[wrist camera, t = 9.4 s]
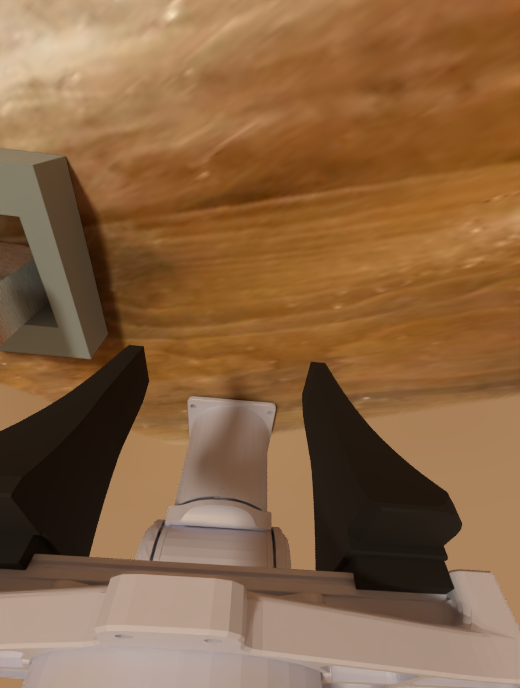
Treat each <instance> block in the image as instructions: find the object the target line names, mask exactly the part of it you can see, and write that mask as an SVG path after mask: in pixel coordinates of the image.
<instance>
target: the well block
mask: <svg viewBox="0 0 520 688" xmlns="http://www.w3.org/2000/svg"><path fill="white" fill-rule="evenodd" d="M0 215H9V216H18V217H19V218H20V220H21V223H22V226H23V229H24V232H25V235H26V237H27V240H28V243H29V246H30V249H31V251H32V254H33V257H34V260H35V263H36V266H37V268H38V271H39V274H40V277H41V280H42V282H43V285H44V288H45V291H46V294H47V297H48V299H49V302H47V303H46V304H45V305H44V306H43V307H42V308H41V309H40V310H39V311H38V312H37V313H35V314H34V315H33V316H32V317H31V318H30V319H29V320H28V321H27V322H26V323H25V324H23V325H22V326H21V327H20V328H19V329H18V330H17V331H16V332H15V333H14V334H13V335H11V336H10V337H9V338H8V339H7V340H6V341H5V342H4V343H3V344H2V345H1V346H0V351H6V352H18V353H29V354H40V355H51V356H62V357H73V358H85V359H91V358H92V357H93V355H94V354H95V352H96V351H97V349H98V348H99V347H100V345H101V344H102V342H103V341H104V339H105V338H106V336H107V335H108V331H107V327H106V323H105V319H104V315H103V310H102V306H101V302H100V298H99V294H98V290H97V286H96V281H95V277H94V273H93V269H92V265H91V261H90V256H89V252H88V248H87V244H86V240H85V236H84V231H83V227H82V223H81V219H80V215H79V211H78V206H77V202H76V198H75V194H74V190H73V186H72V181H71V177H70V173H69V169H68V165H67V161H66V156H61V155H52V154H44V153H35V152H27V151H19V150H10V149H2V148H0Z"/></svg>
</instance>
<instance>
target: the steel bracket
mask: <svg viewBox="0 0 520 688" xmlns="http://www.w3.org/2000/svg"><path fill="white" fill-rule="evenodd" d="M47 302H49V299H48V297H47V294H46V291H45V288H44V285H43V282H42V280H41V277H40V274H39V271H38V268H37V266H36V263H35V260H34V257H33V254H32V251H31V249H30V246H29V245H22V244H14V243H6V242H0V346H1V345H2V344H3V343H4V342H5V341H6V340H7V339H8V338H9V337H10V336H11V335H13V334H14V333H15V332H16V331H17V330H18V329H19V328H20V327H21V326H22V325H23V324H25V323H26V322H27V321H28V320H29V319H30V318H31V317H32V316H33V315H34V314H35V313H37V312H38V311H39V310H40V309H41V308H42V307H43V306H44V305H45V304H46V303H47Z"/></svg>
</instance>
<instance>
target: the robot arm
mask: <svg viewBox="0 0 520 688" xmlns="http://www.w3.org/2000/svg"><path fill="white" fill-rule="evenodd" d="M148 383H149V377H148V371H147V365H146V359H145V352H144V346H134V345H129V346H127V347H126V348H125V349H124V350H122V351H121V352H120V353H119V354H118V355H117V356H115V357H114V358H113V359H112V360H111V361H109V362H108V363H107V364H106V365H105V366H103V367H102V368H101V369H100V370H99V371H97V372H96V373H95V374H94V375H92V376H91V377H90V378H89V379H87V380H86V381H85V382H83V383H82V384H80V385H79V386H78V387H76V388H75V389H74V390H72V391H71V392H69V393H68V394H66V395H65V396H63V397H62V398H60V399H59V400H57V401H56V402H54V403H52V404H51V405H49V406H47V407H46V408H44V409H42V410H41V411H39V412H37V413H35V414H33V415H31V416H30V417H28V418H26V419H24V420H22V421H20V422H19V423H16V424H15V425H12V426H10V427H8V428H6V429H4V430H2V431H0V677H2V678H14V679H25V680H24V682H23V685H22V687H21V688H520V629H519V627H518V625H517V622H516V620H515V618H514V616H513V614H512V612H511V610H510V608H509V605H508V603H507V601H506V599H505V597H504V595H503V593H502V591H501V589H500V587H499V584H498V582H497V580H496V578H495V576H494V574H493V573H491V572H490V571H478V570H452V571H449V572H448V570H447V567H446V564H445V562H444V561H446V560H447V559H448V557H447V554H446V551H445V548H444V545H445V544H446V543H447V542H449V541H450V540H451V539H452V538H453V537H455V536H456V535H457V533H458V532H459V531H460V530H461V527H462V522H461V520H460V518H459V515H458V513H457V511H456V509H455V506H454V504H453V502H452V500H451V499H450V497H449V495H448V493H447V492H446V491H445V490H443V489H442V488H440V487H439V486H438V485H436V484H435V483H434V482H432V481H431V480H429V479H428V478H427V477H425V476H424V475H422V474H421V473H420V472H419V471H418V470H416V469H415V468H414V467H412V466H411V465H410V464H409V463H408V462H406V461H405V460H404V459H403V458H402V457H401V456H400V455H398V454H397V453H396V452H395V451H394V450H393V449H392V448H391V447H390V446H389V445H388V444H387V443H385V442H384V441H383V440H382V439H381V438H380V437H379V436H378V434H377V433H376V432H375V431H373V429H372V428H371V427H370V426H369V425H368V424H367V422H366V421H365V420H364V419H363V418H362V416H361V415H360V414H359V413H358V411H357V410H356V409H355V407H354V406H353V405H352V403H351V402H350V401H349V399H348V398H347V396H346V395H345V393H344V392H343V391H342V389H341V388H340V386H339V385H338V383H337V381H336V380H335V378H334V377H333V375H332V373H331V372H330V370H329V368H328V367H327V365H326V364H325V363H318V362H311V364H310V367H309V371H308V375H307V378H306V382H305V386H304V390H303V393H302V403H303V418H304V424H305V431H306V437H307V442H308V448H309V455H310V460H311V469H312V481H313V496H314V497H313V498H314V520H315V553H316V554H315V559H316V571H313V570H296V569H291V560H290V551H289V544H288V540H287V538H286V537H285V535H284V534H283V533H282V531H281V529H280V528H279V527H271V513H270V512H267V451H268V445H269V441H270V436H271V431H272V426H273V422H274V417H275V412H276V405H275V404H273V403H267V402H256V401H244V400H232V399H220V398H209V397H197V396H191V397H189V399H188V418H189V435H190V440H189V445H188V449H187V453H186V458H185V462H184V466H183V471H182V475H181V480H180V484H179V488H178V492H177V497H176V501H175V505H170V506H169V508H168V512H167V516H166V520H157V521H155V522H154V524H153V525H152V526H151V527H150V528H149V529H148V530H147V531H146V532H145V534H144V536H143V538H142V540H141V542H140V545H139V548H138V551H137V554H136V557H135V560H129V559H113V558H97V557H89V555H90V551H91V547H92V543H93V539H94V536H95V532H96V528H97V524H98V521H99V517H100V514H101V510H102V507H103V503H104V500H105V497H106V494H107V490H108V487H109V484H110V481H111V478H112V474H113V471H114V469H115V466H116V463H117V459H118V457H119V454H120V452H121V449H122V446H123V444H124V442H125V440H126V438H127V436H128V434H129V431H130V429H131V427H132V425H133V423H134V421H135V418H136V416H137V414H138V412H139V409H140V407H141V405H142V403H143V400H144V396H145V393H146V390H147V386H148ZM269 411H270V412H269Z"/></svg>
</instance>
